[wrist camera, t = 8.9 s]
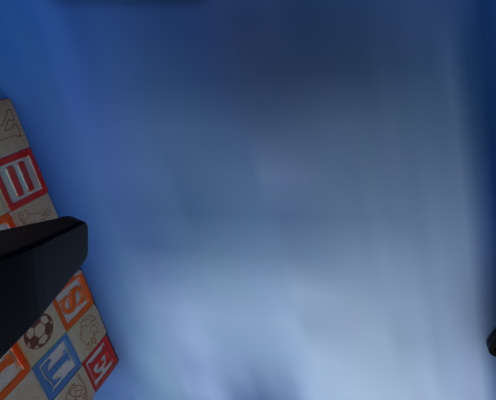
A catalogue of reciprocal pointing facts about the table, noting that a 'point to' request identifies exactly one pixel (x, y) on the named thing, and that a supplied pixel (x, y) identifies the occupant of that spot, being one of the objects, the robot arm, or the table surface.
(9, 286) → the robot arm
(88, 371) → the stack of blocks
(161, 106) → the table surface
